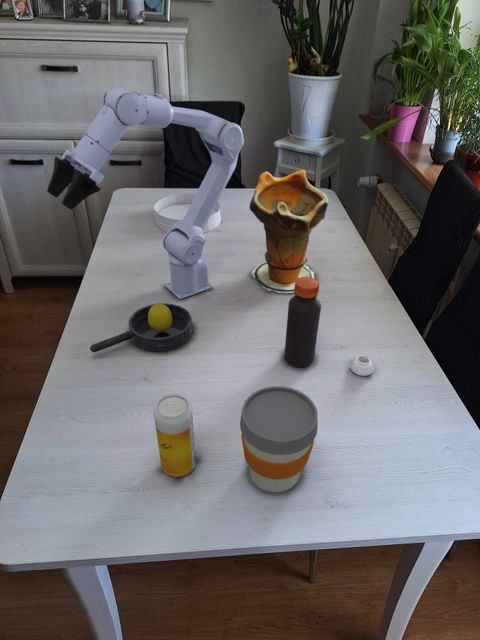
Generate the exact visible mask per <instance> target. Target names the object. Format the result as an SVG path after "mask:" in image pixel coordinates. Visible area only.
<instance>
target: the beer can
mask: <svg viewBox="0 0 480 640" xmlns="http://www.w3.org/2000/svg"><path fill="white" fill-rule="evenodd" d="M193 415H194V414H193V407H192V405H191V403H190V402H189V400H188V398H186V397H185V396H183V395H180V394H177V393H176V394H175V393H173V394H168V395H164V396H162V397H160V399H159V400H157V402H156V404H155V407H154V409H153V419H154V426H155V433H156V439H157V446H158V451H159V459H160V465H161V466H160V467H161V469H162V471H163V472H164V473H165V474H166V475H168V476H171V477H175V478H180V477H184V476H187V475H188V474H190V473H191V472H192V471H193V470H194V469H195V467H196V465H197V456H196V455H197V454H196V441H195V430H194V429H195V428H194V416H193Z"/></svg>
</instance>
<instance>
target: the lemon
mask: <svg viewBox="0 0 480 640" xmlns="http://www.w3.org/2000/svg"><path fill="white" fill-rule="evenodd" d="M155 304H156V305H154V306H152V307H151V308H150V310H149V313H148V322H149V325H150V327H151V328H152V329H153V330H154V331H156V332H159V333H163V332H165V331H167V330H168V329H169V328H170V327H171V324H172V314H171V312H170V310H169V308H168V307H167V306H165V305H163V304H159V303H155Z"/></svg>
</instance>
